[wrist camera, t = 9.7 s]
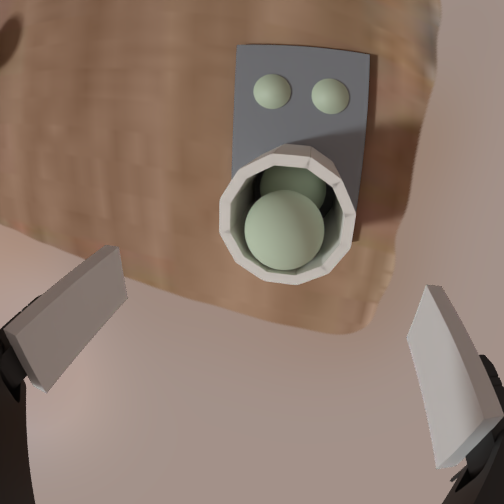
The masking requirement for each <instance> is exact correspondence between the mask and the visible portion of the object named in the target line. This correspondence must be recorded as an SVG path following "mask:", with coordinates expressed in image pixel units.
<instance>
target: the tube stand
mask: <svg viewBox="0 0 504 504" xmlns="http://www.w3.org/2000/svg"><path fill="white" fill-rule="evenodd" d="M369 67H370V55H369V54H363V53H357V52H350V51H343V50H335V49H326V48H316V47H304V46H287V45H237V53H236V74H235V96H234V121H233V150H232V180H231V182H230V184H229V185H228V187H227V188H226V190H225V192H224V193H223V195H222V196H221V198H220V213H219V233H220V235H221V237H222V239H223V241H224V242H225V244H226V246H227V248H228V250H229V251H230V253H231V255H232V257H233V258H234V260H235V262H236V263H237V264H239V265H240V266H242V267H243V268H245V269H246V270H248V271H249V272H251V273H252V274H254V275H255V276H257V277H259V278H260V279H262V280H264V281H268V282H276V283H284V284H292V285H299V284H302V283H304V282H307V281H310V280H313V279H315V278H318V277H321V276H324V275H326V274H328V273H330V271H331V270H332V269H333V268H334V267H335V266H336V265H337V263H338V262H339V261H340V260H341V259H342V258H343V256H344V255H345V254H346V253H347V252H348V251H349V249H350V248H351V243H352V237H353V231H354V225H355V218H356V209H357V202H358V195H359V188H360V180H361V172H362V163H363V154H364V145H365V134H366V122H367V108H368V92H369ZM274 165H276V166H287V167H297V168H307V169H308V170H309V171H311V172H312V173H314V174H315V175H316V176H318V177H319V178H321V179H322V180H323V181H325V182H326V196H325V199H324V202H323V204H322V206H321V207H320V209H319V211H320V213H321V216H322V218H323V222H324V238H323V242H322V245H321V247H320V249H319V251H318V253H317V254H316V255H315V256H314V258H313V259H312V260H310V261H309V262H308V263H306V264H305V265H303V266H301V267H299V268H296V269H291V270H277V269H274V268H270V267H268V266H266V265H264V264H263V263H261V262H260V261H259V260H258V259H256V258H255V256H254V255H253V254H252V253H251V251H250V249H249V247H248V245H247V242H246V239H245V221H246V217H247V215H248V212H249V211H250V209H251V207H252V206H253V205H254V203H255V202H256V201H257V200H259V199H260V198H261V194H260V182H261V178H262V176H263V173H264V172H265V170H266V169H268V168H270V167H272V166H274Z"/></svg>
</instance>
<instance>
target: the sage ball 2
mask: <svg viewBox="0 0 504 504" xmlns="http://www.w3.org/2000/svg"><path fill="white" fill-rule="evenodd" d="M323 238H324V222H323V218H322V216H321V213H320V211H319V209H318V208H317V206H316V205H315V204H314V203H313V202H312V201H311V200H310V199H309V198H307V197H306V196H304V195H303V194H300V193H298V192H295V191H290V190H278V191H274V192H271V193H268V194H266V195H264V196H263V197H261V198H260V199H259V200H257V201H256V202H255V203H254V205H253V206H252V207H251V209H250V211H249V212H248V215H247V217H246V221H245V239H246V242H247V245H248V247H249V249H250V251H251V253H252V254H253V255H254V256H255V258H256V259H258V260H259V261H260V262H261V263H263V264H264V265H266V266H268V267H270V268H274V269H277V270H291V269H296V268H299V267H301V266H303V265H305V264H306V263H308V262H309V261H310V260H312V259H313V258H314V256H315V255H316V254H317V253H318V251H319V249H320V247H321V245H322V242H323Z"/></svg>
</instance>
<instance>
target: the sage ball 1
mask: <svg viewBox="0 0 504 504" xmlns="http://www.w3.org/2000/svg"><path fill="white" fill-rule="evenodd" d="M278 190H290V191H295V192H298V193H300V194H303V195H304V196H306V197H307V198H309V199H310V200H311V201H312V202H313V203H314V204H315V205H316V206H317V208H318V209H320V207H321V206H322V204H323V202H324V199H325V196H326V182H325V181H323V180H322V179H321V178H319V177H318V176H316V175H315V174H314V173H312V172H311V171H309V170H308V169H307V168H297V167H287V166H276V165H274V166H272V167H270V168H268V169H266V170H265V172H264V173H263V176H262V178H261V182H260V194H261V197H263V196H264V195H266V194H268V193H271V192H274V191H278Z"/></svg>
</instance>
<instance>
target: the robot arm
mask: <svg viewBox="0 0 504 504" xmlns="http://www.w3.org/2000/svg"><path fill="white" fill-rule="evenodd" d="M127 299H128V297H127V291H126V286H125V281H124V275H123V270H122V264H121V257H120V251H119V247H117V246H110V245H105V246H104V247H102V248H101V249H100V250H98V251H97V252H96V253H94V254H93V255H92V256H90V257H89V258H88V259H86V260H85V261H84V262H82V263H81V264H80V265H78V266H77V267H76V268H75V269H73V270H72V271H71V272H70V273H68V274H67V275H66V276H64V277H63V278H62V279H61V280H59V281H58V282H57V283H56V284H55V285H53V286H52V287H51V288H50V289H49V290H47V291H46V292H45V293H44V294H42V295H40V296H38V297H36V298H35V299H34V300H33V301H32V302H30V304H28V306H26V307H25V308H23V310H22V312H19V313H18V314H17V315H15V316H14V317H13V318H12V319H11V320H10V321H9V322H8V323H6V324H5V325H4V326H3V327H2V328H1V329H0V504H35V500H34V494H33V488H32V482H31V475H30V467H29V457H28V448H27V447H28V446H27V430H26V384H25V382H24V380H23V379H24V378H25V377H26V376H28V378H29V379H30V381H31V383H32V384H33V386H34V387H36V388H38V389H39V390H41V391H43V392H45V393H47V392H48V391H49V390H50V388H51V387H52V386H53V385H54V383H55V382H56V381H57V380H58V379H59V377H60V376H61V375H62V374H63V372H64V371H65V370H66V369H67V368H68V366H69V365H70V364H71V363H72V362H73V360H74V359H75V358H76V357H77V356H78V354H79V353H80V352H81V351H82V350H83V349H84V347H85V346H86V345H87V344H88V342H89V341H90V340H91V339H92V338H93V337H94V335H96V333H97V332H98V331H99V330H100V329H101V327H103V325H104V324H105V323H106V322H107V321H108V320H109V319H110V318H111V316H112V315H113V314H114V313H115V312H116V311H117V310H118V309H119V307H120V306H121V305H122V304H123V303H124V302H125V301H126V300H127ZM406 338H407V341H408V344H409V348H410V351H411V355H412V358H413V361H414V365H415V369H416V373H417V377H418V380H419V384H420V388H421V392H422V397H423V401H424V405H425V410H426V414H427V419H428V424H429V429H430V434H431V440H432V445H433V451H434V457H435V463H436V469H440V468H446V467H453V466H456V465H457V464H458V463H459V462H460V461H461V460H463V459H464V458H465V457H466V461H467V465H466V466H465V467H464V468H463V469H462V470H461V471H459V472H458V473H457V474H456V475H455V476H453V478H452V479H451V480H450V481H451V482H453V481H454V480H455V479H456V478H457V480H456V482H455V484H454V485H453V487H452V489H451V490H450V492H449V494H448V495H447V497H446V498H445V500H444V502H443V503H442V504H504V387H503V386H502V383H501V380H500V378H498V374H497V372H496V370H495V367H494V365H493V364H492V363H491V362H490V361H489V359H488V358H487V357H486V356H485V355H478V352H477V350H476V349H475V347H474V344H473V342H472V340H471V339H470V336H469V334H468V333H467V331H466V329H465V327H464V325H463V323H462V321H461V319H460V318H459V316H458V314H457V312H456V310H455V308H454V307H453V305H452V303H451V302H450V300H449V298H448V296H447V295H446V293H445V291H444V290H443V288H442V286H435V285H426V286H425V289H424V292H423V295H422V298H421V301H420V304H419V306H418V309H417V312H416V314H415V317H414V320H413V322H412V325H411V327H410V330H409V333H408V335H407V337H406Z"/></svg>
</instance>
